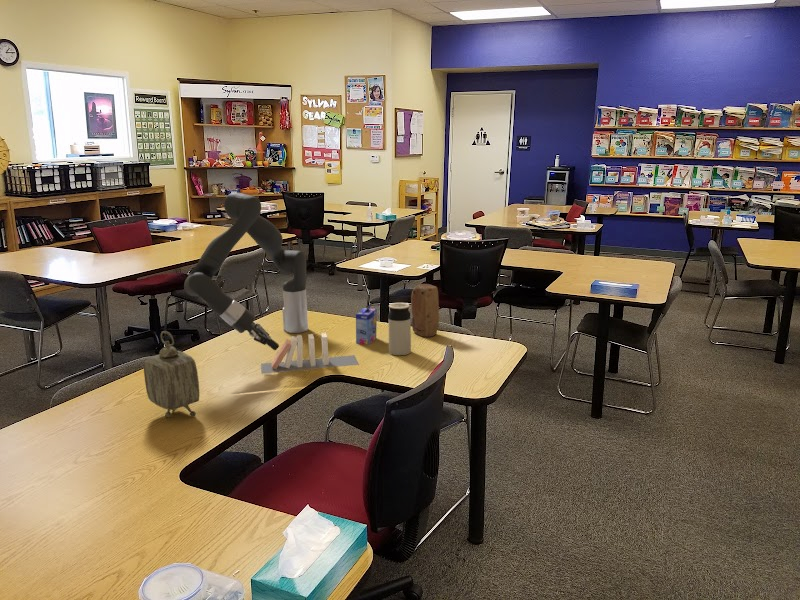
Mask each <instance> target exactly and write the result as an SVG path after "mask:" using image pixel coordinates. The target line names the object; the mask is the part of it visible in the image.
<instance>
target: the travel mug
mask: <svg viewBox="0 0 800 600" xmlns="http://www.w3.org/2000/svg"><path fill="white" fill-rule="evenodd" d="M388 307H389V312H388V353H389V354H390V355H392V354H393V356H397V355H403V356H407V355H409V354H411V352H412V332H411V331H412V330H411V327H412V318H411V312H410V307H411V304H409V303H407V302H392V303H390V304H389V305H388Z"/></svg>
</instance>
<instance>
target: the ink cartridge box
mask: <svg viewBox="0 0 800 600" xmlns="http://www.w3.org/2000/svg"><path fill="white" fill-rule="evenodd" d="M371 306H372V304H369V305H368V306H367V307H363V308H362V309H360V310H359V311H358V312H357V313H355V344H360V345H369V344H371V343H373V342H374V341H375V340H376V339H377V322H378V321H377V320H378V319H377V311H378V310H377V308H371Z"/></svg>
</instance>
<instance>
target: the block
mask: <svg viewBox="0 0 800 600" xmlns="http://www.w3.org/2000/svg"><path fill="white" fill-rule="evenodd" d="M410 297H411V300H410V301H411V302H410V303H411V304H410V308H411V314H412V315H411V316H412V318H411V327H412V331H413V333H415V334H416V335H419V336H421V337H423V338H424V337H425V338H427V337H430V338H431V337H434V336H435V335H436V334H437V332H438V330H439V329H438V328H439V325H440V311H439V309H440V308H439V307H440V306H439V302H440V301H439V290H438V287H437V286H436V285H432V284H429V283H419V284H417V285H416V286H414V288H413V289H412V291H411V296H410Z"/></svg>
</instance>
